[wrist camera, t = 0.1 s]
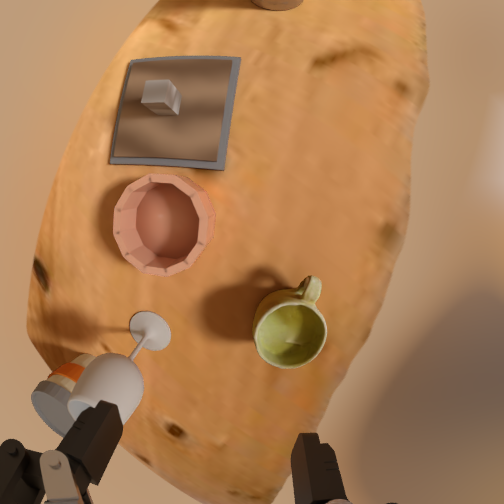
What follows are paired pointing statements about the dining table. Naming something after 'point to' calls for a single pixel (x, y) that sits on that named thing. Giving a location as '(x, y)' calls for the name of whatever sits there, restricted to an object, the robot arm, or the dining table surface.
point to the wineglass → (119, 370)
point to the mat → (224, 131)
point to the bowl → (163, 223)
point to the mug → (290, 325)
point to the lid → (174, 109)
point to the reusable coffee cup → (59, 394)
